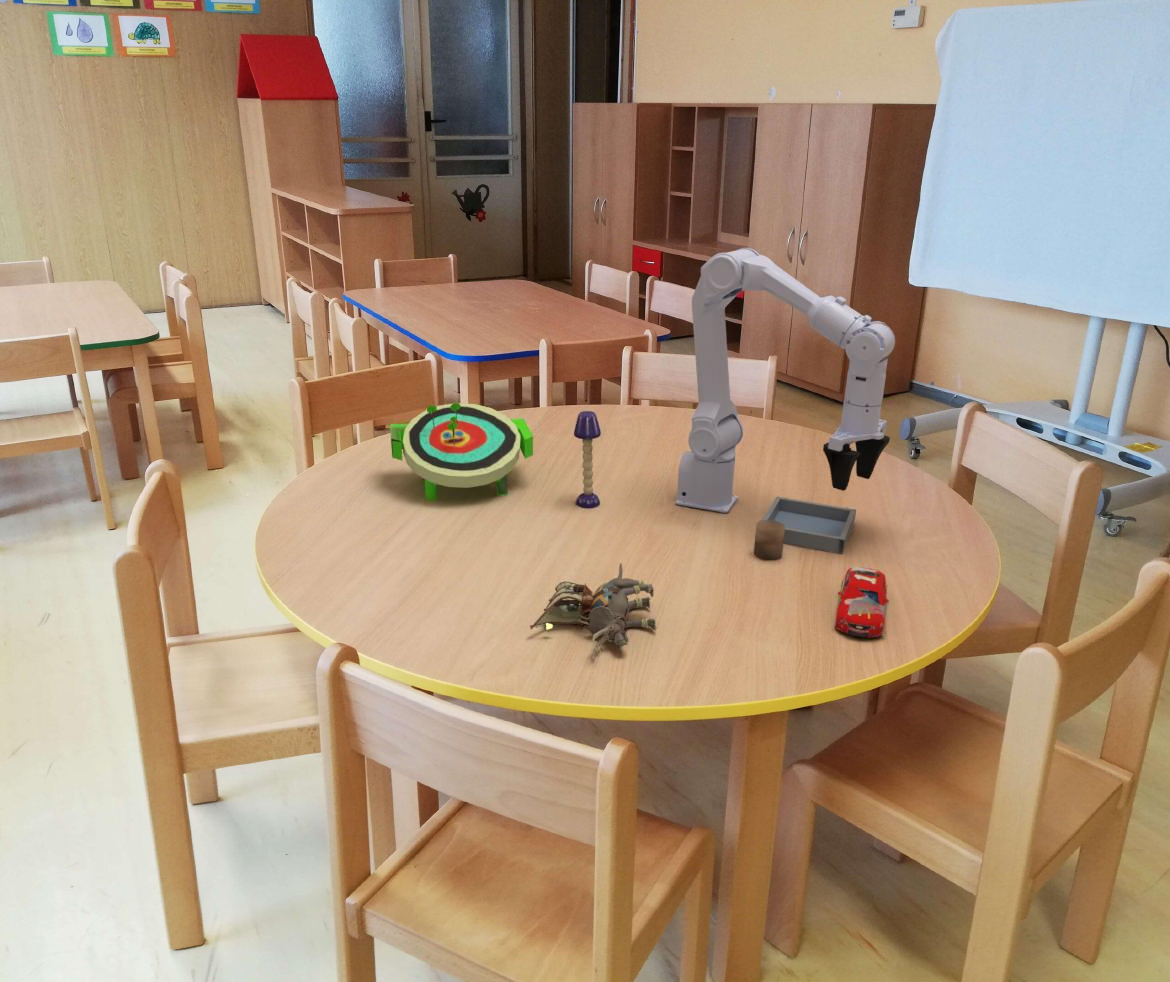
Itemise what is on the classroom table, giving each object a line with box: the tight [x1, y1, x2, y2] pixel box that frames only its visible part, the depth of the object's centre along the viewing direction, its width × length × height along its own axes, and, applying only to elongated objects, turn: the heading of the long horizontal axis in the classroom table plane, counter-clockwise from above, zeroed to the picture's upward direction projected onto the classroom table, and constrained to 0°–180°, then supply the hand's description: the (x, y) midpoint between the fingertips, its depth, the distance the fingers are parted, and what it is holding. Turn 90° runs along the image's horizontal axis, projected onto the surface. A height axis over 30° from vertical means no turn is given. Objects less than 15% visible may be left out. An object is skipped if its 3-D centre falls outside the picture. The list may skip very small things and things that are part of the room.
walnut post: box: [753, 519, 785, 562], centre depth 147 cm, size 4×4×5 cm
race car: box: [834, 566, 890, 638], centre depth 130 cm, size 16×7×5 cm, turn 160°
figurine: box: [529, 562, 657, 662], centre depth 125 cm, size 20×6×17 cm
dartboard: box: [389, 401, 534, 501], centre depth 168 cm, size 25×19×16 cm
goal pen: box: [761, 496, 857, 555], centre depth 156 cm, size 14×14×2 cm
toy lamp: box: [573, 410, 602, 509], centre depth 163 cm, size 5×5×17 cm
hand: (851, 482), depth 151 cm, fingers open, 7 cm apart
